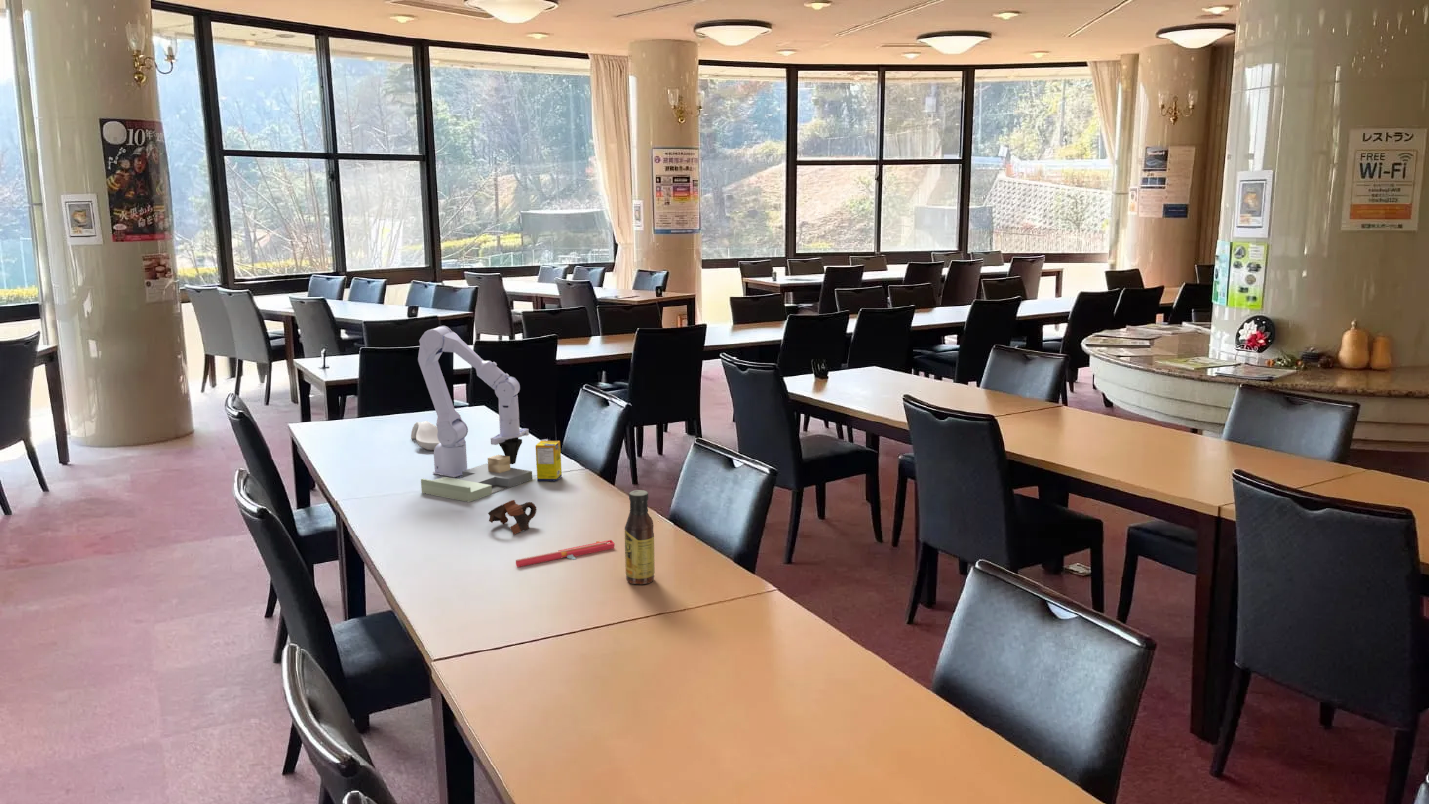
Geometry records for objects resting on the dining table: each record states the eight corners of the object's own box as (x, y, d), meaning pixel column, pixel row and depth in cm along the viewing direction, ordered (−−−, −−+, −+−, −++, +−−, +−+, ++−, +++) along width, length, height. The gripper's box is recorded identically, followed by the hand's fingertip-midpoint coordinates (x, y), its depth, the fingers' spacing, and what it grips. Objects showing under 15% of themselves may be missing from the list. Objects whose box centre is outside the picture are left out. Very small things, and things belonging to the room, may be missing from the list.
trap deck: (421, 492, 285) (420, 479, 284) (486, 471, 307) (485, 458, 306) (469, 502, 276) (468, 487, 275) (532, 479, 298) (531, 466, 297)
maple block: (488, 471, 297) (487, 457, 297) (498, 467, 301) (498, 454, 300) (499, 473, 295) (499, 459, 294) (510, 469, 299) (509, 456, 298)
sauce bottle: (625, 575, 220) (623, 487, 217) (654, 574, 221) (652, 486, 217) (625, 587, 214) (623, 496, 210) (655, 586, 214) (653, 495, 211)
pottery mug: (504, 540, 246) (489, 509, 247) (495, 546, 254) (480, 516, 255) (547, 518, 252) (532, 489, 253) (537, 525, 260) (522, 497, 261)
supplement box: (562, 476, 301) (560, 440, 299) (556, 481, 295) (555, 445, 293) (542, 475, 301) (540, 440, 299) (536, 481, 295) (535, 445, 293)
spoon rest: (459, 449, 335) (457, 428, 334) (424, 454, 329) (423, 433, 327) (433, 436, 354) (431, 416, 353) (399, 441, 347) (398, 420, 346)
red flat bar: (617, 554, 237) (608, 543, 240) (618, 547, 236) (609, 536, 240) (519, 575, 225) (512, 562, 228) (520, 567, 224) (512, 555, 227)
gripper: (502, 425, 292) (504, 470, 294) (535, 415, 304) (537, 459, 307) (484, 422, 295) (486, 467, 298) (517, 413, 307) (519, 456, 310)
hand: (511, 463), depth 302 cm, fingers closed
